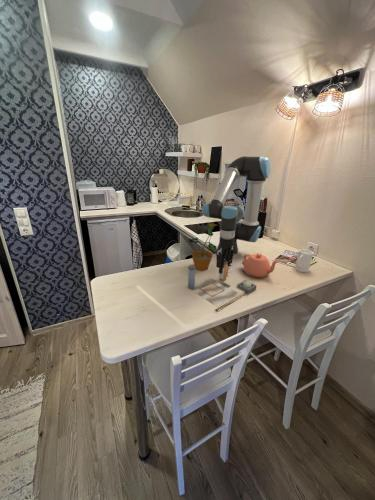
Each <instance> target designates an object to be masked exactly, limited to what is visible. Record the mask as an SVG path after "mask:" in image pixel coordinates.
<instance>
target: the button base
mask: <svg viewBox="0 0 375 500" xmlns="http://www.w3.org/2000/svg"><path fill="white" fill-rule="evenodd" d="M244 281H247V280H246V279H245V280H243V281H241V282H239V283H238V284H237V285H236V287H237V288H239V289H240V290H242V291H244V294H247V295H249V294H251V293H253V292H255V291H257V285H256V284H254V283H252V282H251V284H252V285H251V287H250V288H246V287H244V286H243V282H244Z"/></svg>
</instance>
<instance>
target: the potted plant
mask: <svg viewBox="0 0 375 500" xmlns="http://www.w3.org/2000/svg"><path fill="white" fill-rule="evenodd" d="M206 226H209V227H208V228H207V230H205V232H204V234H206V235H207V236H208V237H207V238H206V240H205V242H204V245H202V244H201V243H200V241H199V239H198V237H196V238H188V242H190V243H194V244H197V243H198V244H200V246H201V247H202V250H201V249H199V250H195V251H193V252H192V253H191V258H192V260H193V265H194V266H195V271H196V270H197V271H202V272H203V271H208V270H209V267H210V264H211V261H212V258H213V253H212V252H210V251H208V250H204V249H205V246H206V244H208V246H207V248H209V249H211V251H214V252H215V253H216V251H217V245H215V244H213V243H212V242H211V238H212V236H214V233H213V232H212V229H213V228H214V227H216V226H217V224H214V223H206ZM210 228H211V229H210ZM208 240H209V241H208Z"/></svg>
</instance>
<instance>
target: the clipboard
mask: <svg viewBox="0 0 375 500" xmlns="http://www.w3.org/2000/svg"><path fill="white" fill-rule="evenodd" d="M186 287H187V288H188V286H186ZM188 289H189V288H188ZM189 290H191V292H193V293H195V294H197V295H198V296H200V297H201V298H202V299H205V300H206V301H207V302H209V303H210V304H212V305H213V306H215V307H216V308H215V309H216V310H217V311H218V310H219V309H221V308H223V307H225V306H226V307H228V306H229V305H228V304H230V303H231V304H233V303H234V301H235V300H236V301H238V300H239V298H240V299H241V298H242V296H243V297H245V293H243V292H242V293H240V292H237V291H236V290H234V289H233V288H231V285H230V284H228V283H226V282H225V281H221V280H220V281H217V280H216V279H214V278H212V277H209V276H208V277H207V278H205V279H202V280H200V281H198V282H195V286H194V289H189ZM237 299H238V300H237ZM236 301H235V302H236ZM232 302H233V303H232ZM231 304H230V305H231ZM227 305H228V306H227ZM226 307H225V308H226ZM223 309H224V308H223ZM216 310H215V311H216ZM221 310H222V309H221ZM217 311H216V312H217ZM218 312H219V311H218Z"/></svg>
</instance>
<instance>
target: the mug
mask: <svg viewBox="0 0 375 500" xmlns="http://www.w3.org/2000/svg"><path fill="white" fill-rule="evenodd" d="M313 257H314V252H313V251H312V250H310V249H305V248H303V249H302V248H300V249H298V253H297V257H296V260H295V264H294V269H295V270H296V271H298V272H302V273H308V272H310V266H311V263H312V260H313Z"/></svg>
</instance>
